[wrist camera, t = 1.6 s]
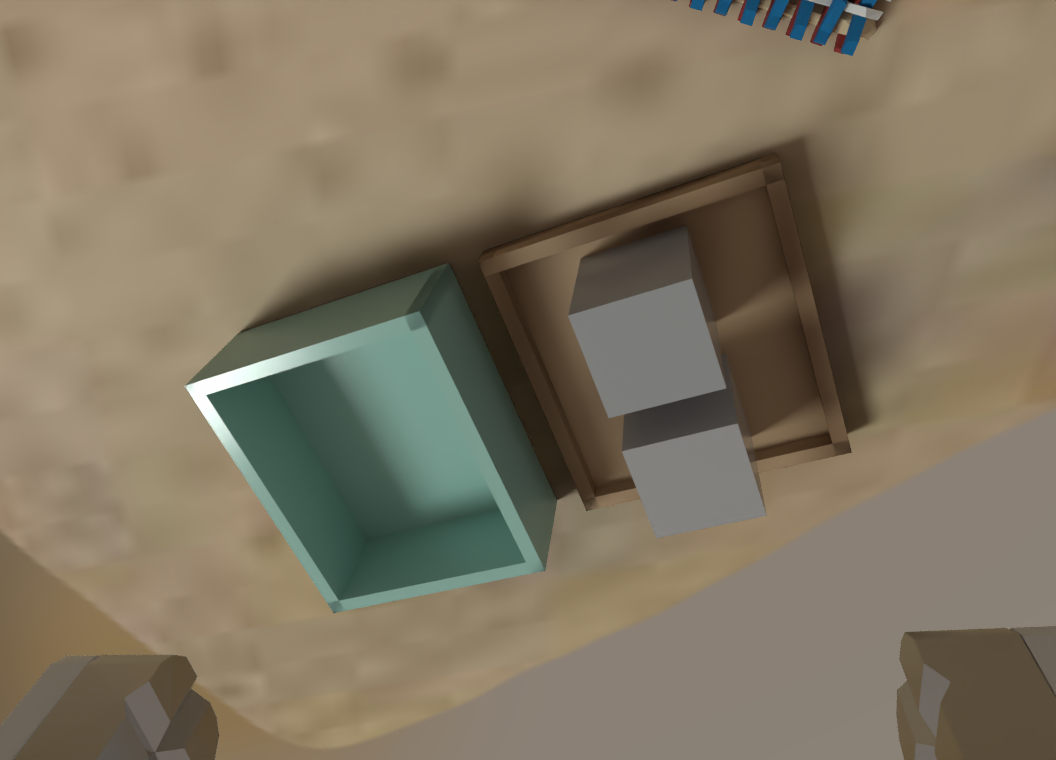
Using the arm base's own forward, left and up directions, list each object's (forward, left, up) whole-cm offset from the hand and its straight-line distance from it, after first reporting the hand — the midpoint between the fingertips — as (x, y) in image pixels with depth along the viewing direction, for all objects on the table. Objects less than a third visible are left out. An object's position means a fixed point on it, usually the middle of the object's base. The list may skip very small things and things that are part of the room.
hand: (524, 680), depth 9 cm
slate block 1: (0, +5, -22) cm, 22 cm away
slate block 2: (0, +10, -22) cm, 24 cm away
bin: (+12, +7, -22) cm, 26 cm away
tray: (0, +7, -22) cm, 23 cm away
